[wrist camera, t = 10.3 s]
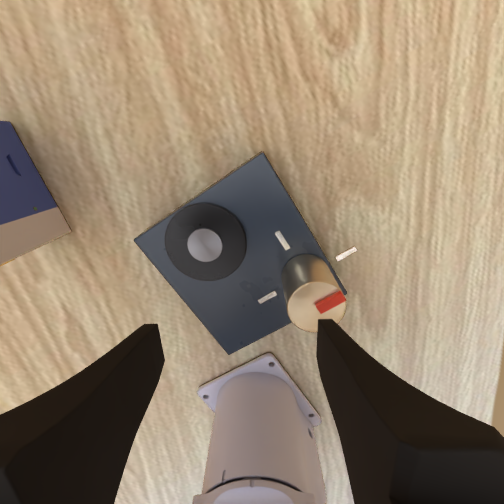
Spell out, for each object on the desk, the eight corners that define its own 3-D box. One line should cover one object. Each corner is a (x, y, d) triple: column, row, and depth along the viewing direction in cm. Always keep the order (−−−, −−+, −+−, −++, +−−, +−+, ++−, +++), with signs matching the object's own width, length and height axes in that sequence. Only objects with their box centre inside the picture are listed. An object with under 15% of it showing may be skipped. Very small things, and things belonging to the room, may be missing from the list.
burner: (262, 253, 19) (262, 257, 18) (198, 291, 20) (196, 296, 19) (215, 185, 17) (214, 187, 16) (150, 230, 18) (145, 233, 18)
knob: (297, 304, 20) (306, 345, 16) (272, 269, 19) (276, 303, 15) (337, 281, 19) (359, 318, 15) (314, 244, 18) (329, 273, 14)
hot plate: (366, 274, 22) (380, 291, 19) (237, 342, 24) (235, 365, 22) (287, 133, 18) (292, 132, 16) (146, 229, 21) (131, 241, 18)
